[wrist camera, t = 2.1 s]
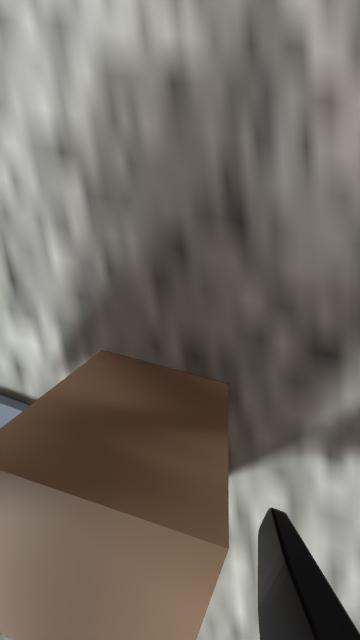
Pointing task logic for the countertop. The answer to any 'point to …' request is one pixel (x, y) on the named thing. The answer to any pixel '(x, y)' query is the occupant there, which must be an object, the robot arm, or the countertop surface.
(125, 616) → the brown block
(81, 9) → the countertop surface
